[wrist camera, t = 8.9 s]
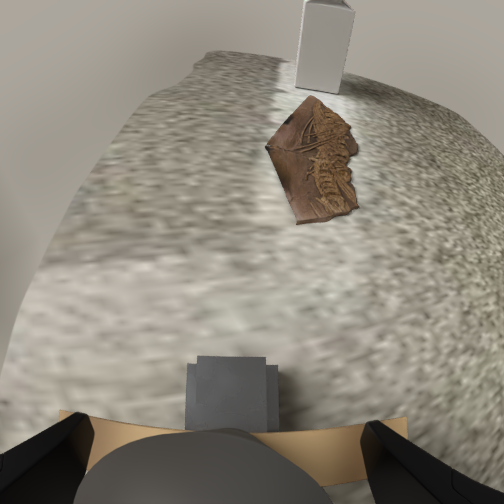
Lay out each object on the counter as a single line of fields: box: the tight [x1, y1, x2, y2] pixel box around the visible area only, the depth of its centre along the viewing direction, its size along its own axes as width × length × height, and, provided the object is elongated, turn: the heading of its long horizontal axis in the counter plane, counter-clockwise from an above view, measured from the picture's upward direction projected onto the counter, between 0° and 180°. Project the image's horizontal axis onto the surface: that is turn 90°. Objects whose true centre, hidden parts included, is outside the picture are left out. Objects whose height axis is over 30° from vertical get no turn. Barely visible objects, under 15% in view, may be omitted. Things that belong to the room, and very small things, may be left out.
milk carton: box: [294, 0, 355, 94], centre depth 37 cm, size 7×7×19 cm
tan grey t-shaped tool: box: [59, 410, 408, 504], centre depth 8 cm, size 18×4×14 cm, turn 90°
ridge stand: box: [185, 356, 279, 433], centre depth 16 cm, size 12×6×4 cm, turn 0°
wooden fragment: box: [265, 95, 359, 225], centre depth 35 cm, size 26×11×1 cm, turn 167°
